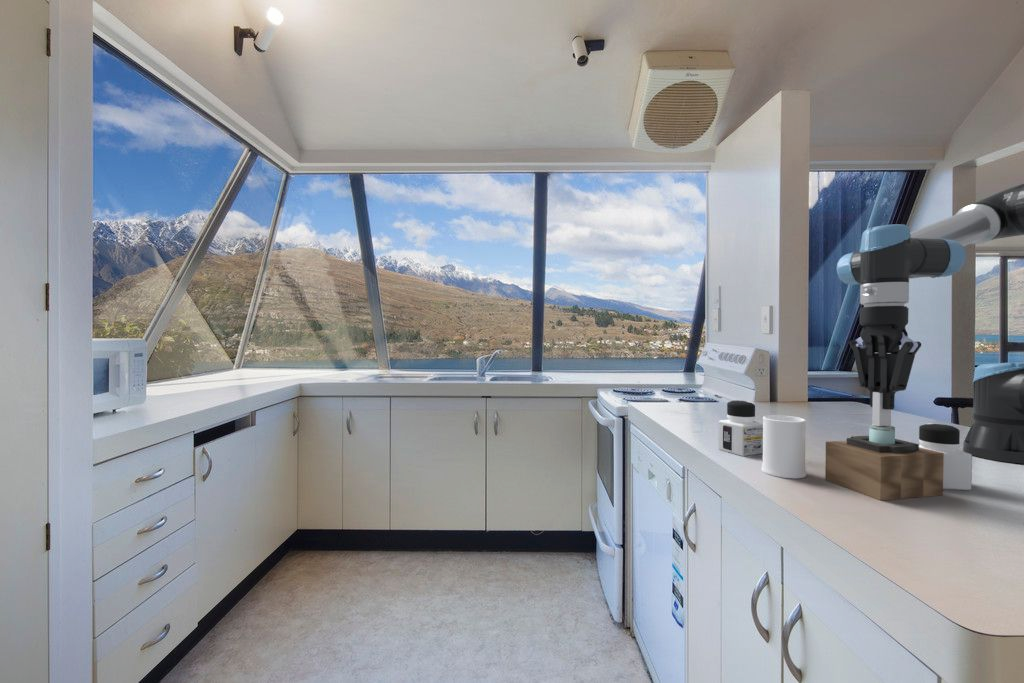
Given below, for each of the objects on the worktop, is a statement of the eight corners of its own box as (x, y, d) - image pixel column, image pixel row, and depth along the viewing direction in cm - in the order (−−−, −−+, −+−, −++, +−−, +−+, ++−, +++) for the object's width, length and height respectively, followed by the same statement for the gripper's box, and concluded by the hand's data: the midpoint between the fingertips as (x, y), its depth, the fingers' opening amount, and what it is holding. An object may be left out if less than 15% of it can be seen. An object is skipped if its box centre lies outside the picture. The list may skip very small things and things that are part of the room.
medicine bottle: (972, 490, 90) (973, 429, 90) (929, 488, 92) (930, 427, 91) (946, 479, 97) (947, 422, 97) (906, 477, 99) (907, 421, 98)
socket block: (881, 475, 100) (882, 433, 100) (942, 495, 88) (943, 446, 88) (825, 479, 97) (825, 435, 97) (880, 500, 85) (880, 450, 85)
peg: (880, 466, 95) (880, 423, 95) (899, 472, 91) (900, 427, 91) (863, 467, 94) (864, 424, 94) (882, 473, 90) (883, 428, 90)
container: (742, 456, 115) (743, 404, 115) (717, 449, 123) (717, 400, 122) (764, 453, 119) (765, 402, 118) (738, 446, 126) (739, 398, 125)
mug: (763, 461, 111) (764, 411, 111) (806, 467, 107) (806, 414, 106) (760, 474, 101) (760, 419, 101) (806, 481, 96) (807, 423, 96)
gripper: (838, 307, 98) (836, 419, 98) (900, 303, 85) (898, 432, 85) (868, 307, 99) (867, 418, 99) (934, 304, 86) (932, 431, 87)
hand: (881, 424), depth 92 cm, fingers closed
